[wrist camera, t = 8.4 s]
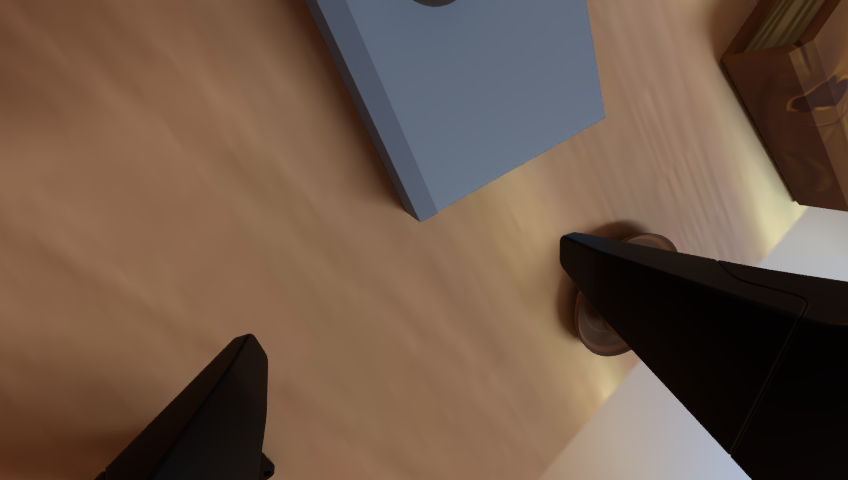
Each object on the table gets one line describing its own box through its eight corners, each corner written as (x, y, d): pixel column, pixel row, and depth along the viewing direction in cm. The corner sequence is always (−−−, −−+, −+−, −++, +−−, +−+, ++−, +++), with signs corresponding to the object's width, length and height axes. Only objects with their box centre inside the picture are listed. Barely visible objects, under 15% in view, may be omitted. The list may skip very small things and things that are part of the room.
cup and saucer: (670, 291, 34) (742, 322, 28) (586, 366, 33) (644, 413, 27) (644, 201, 29) (726, 217, 23) (543, 286, 27) (603, 324, 22)
